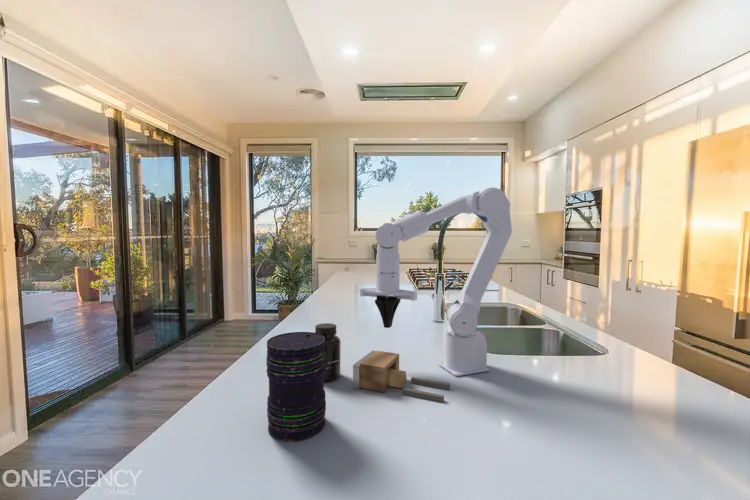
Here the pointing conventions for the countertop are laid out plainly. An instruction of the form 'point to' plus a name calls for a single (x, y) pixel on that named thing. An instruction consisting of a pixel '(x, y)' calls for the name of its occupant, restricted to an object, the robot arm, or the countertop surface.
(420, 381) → the guide rails
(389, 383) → the oak dowel
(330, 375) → the supplement bottle
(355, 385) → the steel backstop wall
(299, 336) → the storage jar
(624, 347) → the countertop surface
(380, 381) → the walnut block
